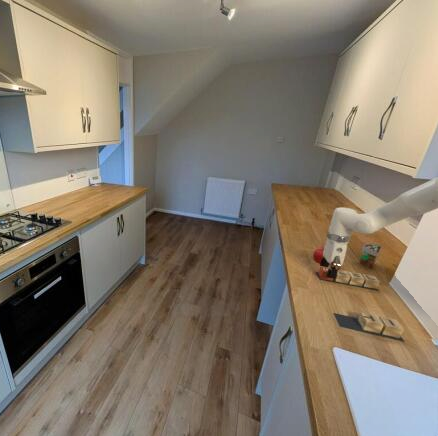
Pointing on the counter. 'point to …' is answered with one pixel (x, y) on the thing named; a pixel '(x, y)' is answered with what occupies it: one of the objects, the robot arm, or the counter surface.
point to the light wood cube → (370, 281)
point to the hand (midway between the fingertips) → (327, 271)
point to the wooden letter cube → (356, 279)
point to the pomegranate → (319, 254)
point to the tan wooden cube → (370, 322)
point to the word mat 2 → (358, 326)
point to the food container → (369, 254)
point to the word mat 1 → (345, 283)
